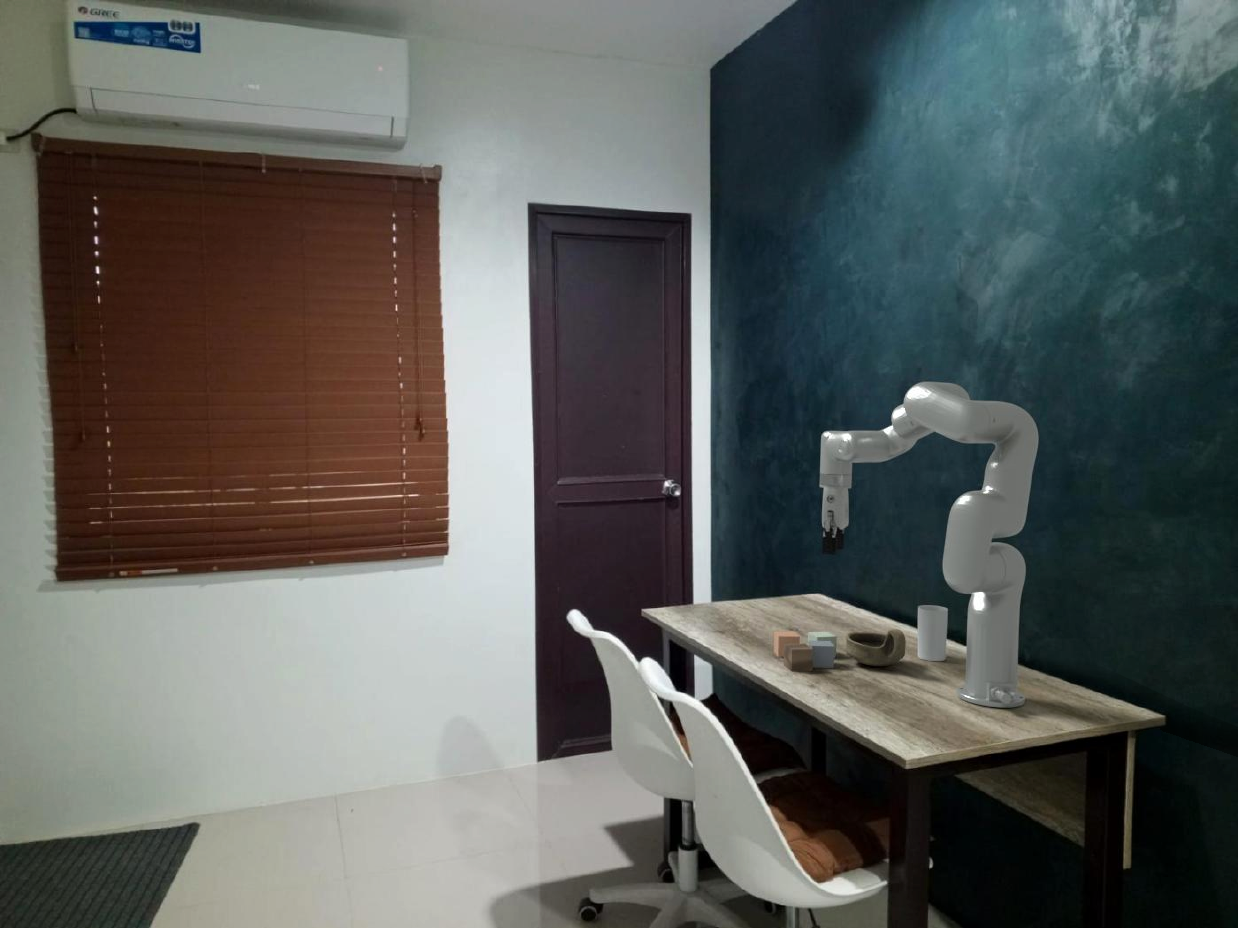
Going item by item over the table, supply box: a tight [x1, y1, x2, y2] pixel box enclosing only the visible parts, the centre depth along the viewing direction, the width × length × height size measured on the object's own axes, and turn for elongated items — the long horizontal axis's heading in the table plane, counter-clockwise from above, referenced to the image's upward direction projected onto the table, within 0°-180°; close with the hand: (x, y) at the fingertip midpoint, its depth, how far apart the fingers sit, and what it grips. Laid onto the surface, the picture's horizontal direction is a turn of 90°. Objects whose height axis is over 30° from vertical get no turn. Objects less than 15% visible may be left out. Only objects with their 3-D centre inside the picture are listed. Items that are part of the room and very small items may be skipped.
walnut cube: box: [783, 643, 814, 672], centre depth 196 cm, size 5×5×5 cm
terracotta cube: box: [773, 631, 801, 658], centre depth 208 cm, size 5×5×5 cm
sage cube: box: [807, 631, 837, 658], centre depth 208 cm, size 5×5×5 cm
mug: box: [917, 604, 949, 662], centre depth 207 cm, size 10×7×12 cm, turn 7°
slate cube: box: [809, 640, 835, 669], centre depth 199 cm, size 5×5×5 cm
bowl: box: [845, 628, 907, 667], centre depth 198 cm, size 14×18×10 cm
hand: (833, 551), depth 211 cm, fingers open, 9 cm apart
